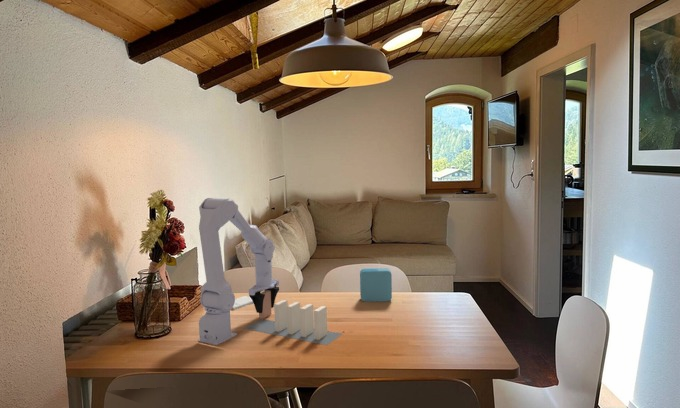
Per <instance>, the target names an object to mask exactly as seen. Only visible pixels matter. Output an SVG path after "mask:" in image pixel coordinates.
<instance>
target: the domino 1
mask: <svg viewBox="0 0 680 408" xmlns="http://www.w3.org/2000/svg"><path fill="white" fill-rule="evenodd" d="M260 293H261V294H265V297H264V300H263V312H262V313H258V317H259V318H258V319H265V318H267V317H269V316H271V315H272V308H271V291H269V290H266V291H265V290H263V291H261V292H260Z"/></svg>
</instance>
